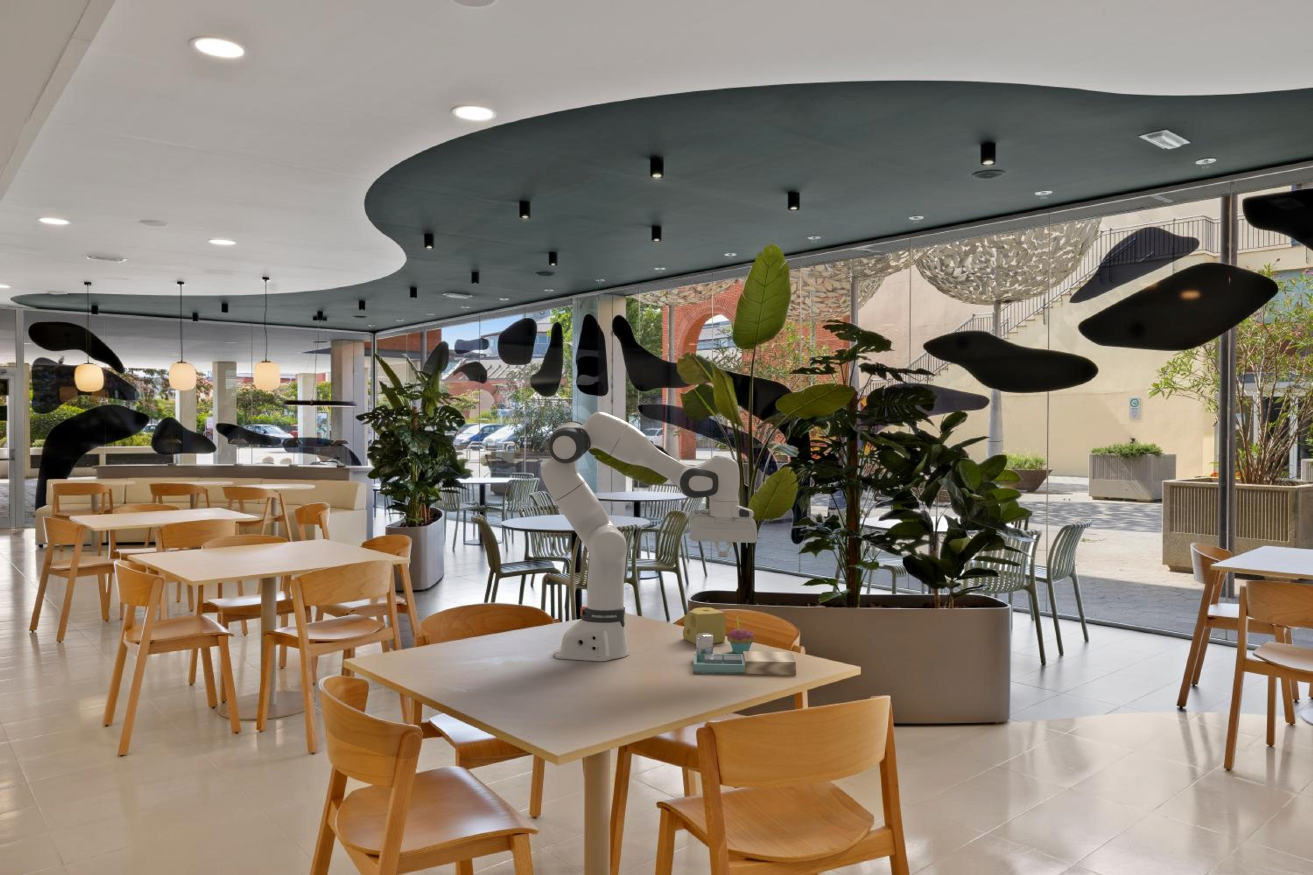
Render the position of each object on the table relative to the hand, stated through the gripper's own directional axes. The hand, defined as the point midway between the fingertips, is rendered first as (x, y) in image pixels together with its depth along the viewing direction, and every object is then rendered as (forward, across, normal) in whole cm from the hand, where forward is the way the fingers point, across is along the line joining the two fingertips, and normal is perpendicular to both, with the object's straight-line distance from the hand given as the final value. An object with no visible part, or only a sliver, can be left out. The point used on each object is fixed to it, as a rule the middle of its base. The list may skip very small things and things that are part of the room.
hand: (722, 557), depth 270 cm
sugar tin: (+30, -5, 0) cm, 31 cm away
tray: (+30, 0, -12) cm, 32 cm away
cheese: (+30, -5, +24) cm, 39 cm away
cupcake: (+30, +6, +9) cm, 32 cm away
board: (+30, +14, -11) cm, 35 cm away
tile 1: (+27, -2, -12) cm, 30 cm away
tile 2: (+30, +3, -11) cm, 32 cm away
